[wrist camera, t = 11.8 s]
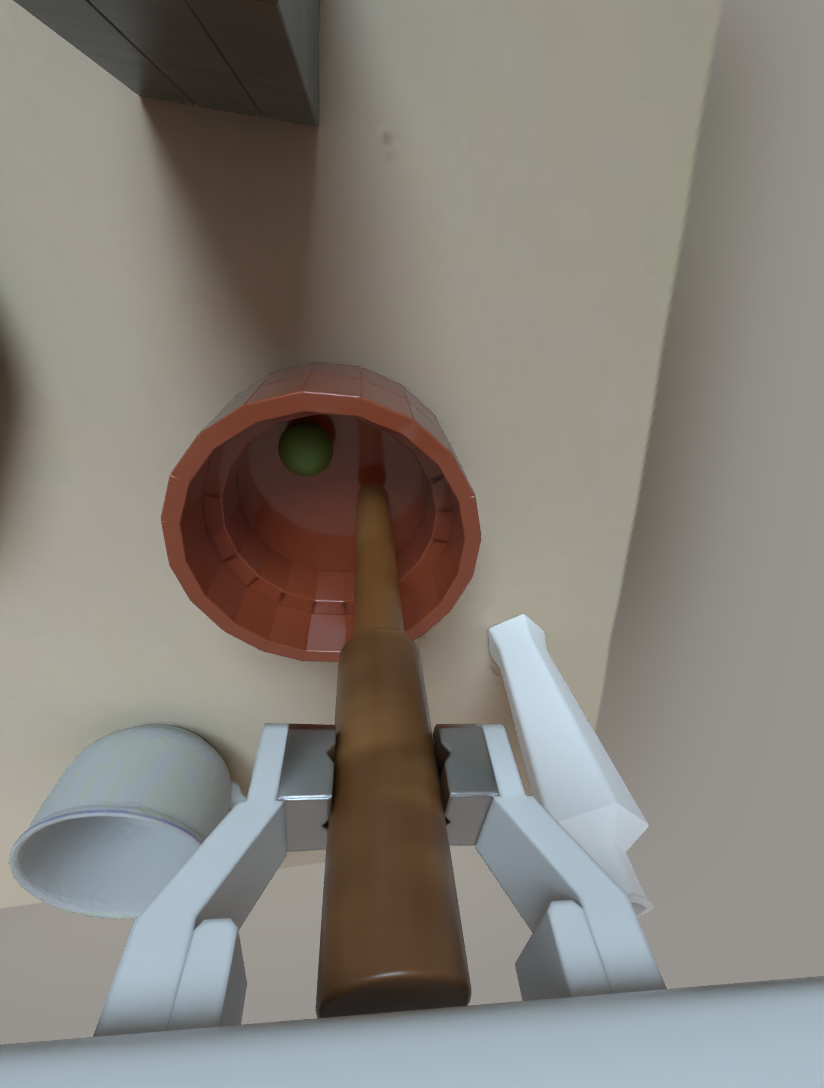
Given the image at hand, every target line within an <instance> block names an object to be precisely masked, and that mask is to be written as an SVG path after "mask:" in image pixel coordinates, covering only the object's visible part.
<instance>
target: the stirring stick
mask: <svg viewBox="0 0 824 1088" xmlns="http://www.w3.org/2000/svg"><path fill="white" fill-rule="evenodd" d="M335 725H337V727H336V746H335V761H334V779H333V795H332V810H331V817H330V819H329V820H328V831H327V846H326V861H325V877H324V891H323V907H322V922H321V936H320V952H319V966H318V982H317V997H316V1014H317V1018H327V1017H339V1016H351V1015H363V1014H375V1013H387V1012H399V1011H411V1010H423V1009H435V1008H447V1007H459V1006H467V1005H468V1004H469V1002H470V998H471V984H470V978H469V971H468V965H467V958H466V951H465V945H464V938H463V932H462V925H461V919H460V913H459V906H458V899H457V893H456V887H455V880H454V873H453V867H452V860H451V854H450V847H449V841H448V834H447V827H446V821H445V814H444V808H443V801H442V795H441V788H440V782H439V775H438V769H437V762H436V756H435V749H434V743H433V736H432V730H431V723H430V717H429V710H428V704H427V697H426V691H425V684H424V678H423V671H422V665H421V658H420V653H419V649H418V647H417V645H416V644H415V642H414V641H413V640H412V639H411V638H410V637H408V636H407V635H405V634H404V626H403V617H402V609H401V600H400V592H399V583H398V575H397V566H396V558H395V549H394V541H393V532H392V524H391V516H390V507H389V499H388V493H387V491H386V490H385V488H384V487H382V486H381V485H378V484H374V483H372V484H367V485H365V486H363V487H362V488H361V489H360V490H359V492H358V494H357V515H356V547H355V579H354V611H353V637H352V638H351V639H350V640H349V641H348V642H347V643H346V644H345V645H344V647H343V648H342V650H341V652H340V655H339V665H338V680H337V695H336V710H335Z"/></svg>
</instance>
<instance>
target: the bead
mask: <svg viewBox="0 0 824 1088" xmlns="http://www.w3.org/2000/svg"><path fill="white" fill-rule="evenodd" d="M278 452H279V456H280V459H281V461H282V462H283V464H284V465H285V467H286V468H287V469H289V470H290V471H291V472H293V473H295V474H297V475H300V476H314V475H317V474H319V473H321V472H322V471H324V470H325V469H326V468H327V467H328V465H329V464H330V462H331V460H332V457H333V444H332V440H331V438H330V436H329V435H328V433H327V432H326V431H325V430H324V429H323V428H322V427H320V426H319V425H317V424H315V423H312V422H297V423H294V424H292V425H290V426H289V427H288V428H286V429H285V431H284V432H283V433H282V435H281V437H280V439H279V444H278Z"/></svg>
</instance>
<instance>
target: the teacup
mask: <svg viewBox="0 0 824 1088" xmlns="http://www.w3.org/2000/svg"><path fill="white" fill-rule="evenodd" d="M246 800H247V797H246V796H245V795H244V794H243V793H242V790H241V787H240V786H239V784H238V783H236V782H231V781H230V776H229V771H228V768H227V766H226V764H225V762H224V760H223V759H222V757H221V756H220V755H219V754H218V752H217V751H216V750H215V749H214V748H213V747H211V746H210V745H209V744H208V743H207V742H206V741H205V740H204V739H202V738H201V737H199V736H198V735H196V734H194V733H192V732H190V731H188V730H185V729H182V728H179V727H175V726H168V725H147V726H140V727H134V728H128V729H124V730H120V731H117V732H114V733H111V734H109V735H107V736H105V737H102V738H100V739H99V740H97V741H95V742H94V743H92V744H91V745H90V746H88V747H87V748H86V749H85V750H83V751H82V752H81V753H80V754H79V755H78V756H77V757H76V759H75V760H74V761H73V762H72V763H71V764H70V766H69V767H68V768H67V769H66V771H65V772H64V774H63V775H62V776H61V778H60V779H59V781H58V782H57V784H56V785H55V787H54V788H53V790H52V791H51V793H50V794H49V796H48V797H47V799H46V800H45V802H44V803H43V805H42V806H41V808H40V810H39V811H38V813H37V814H36V816H35V818H34V819H33V821H32V822H31V824H30V826H29V827H28V829H27V830H26V831H25V832H24V833H23V834H22V835H21V836H20V837H19V839H18V840H17V841H16V843H15V844H14V846H13V849H12V851H11V854H10V859H9V864H10V866H11V870H12V873H13V876H14V878H15V879H16V880H17V882H18V883H19V884H20V885H21V887H22V888H24V889H25V890H26V891H28V892H29V893H30V894H32V895H33V896H34V897H36V898H38V899H40V900H42V901H44V902H46V903H48V904H50V905H52V906H55V907H57V908H60V909H62V910H65V911H69V912H72V913H79V914H82V915H87V916H90V917H99V918H111V919H125V918H137V917H138V916H139V915H140V913H141V912H142V911H143V910H144V909H145V908H146V907H147V905H148V904H149V903H150V902H151V901H152V900H153V899H154V897H155V896H156V895H157V894H158V893H159V892H160V891H161V889H162V888H163V887H164V886H165V885H166V884H167V883H168V882H169V880H170V879H171V878H172V877H173V876H174V875H175V874H176V872H177V871H178V870H179V869H180V868H181V867H182V866H183V864H184V863H185V862H186V861H187V860H188V859H189V858H190V856H191V855H192V854H193V853H194V852H195V851H196V850H197V848H198V847H199V846H200V845H201V844H202V843H203V842H204V840H205V839H206V838H207V837H208V836H209V835H210V834H211V832H212V831H213V830H214V829H215V828H216V827H217V826H218V824H219V823H220V822H221V821H222V820H223V819H224V818H225V816H226V815H227V812H228V811H231V810H232V808H233V807H234V806H235V805H236V804H237V803H238V802H239V801H246Z"/></svg>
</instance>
